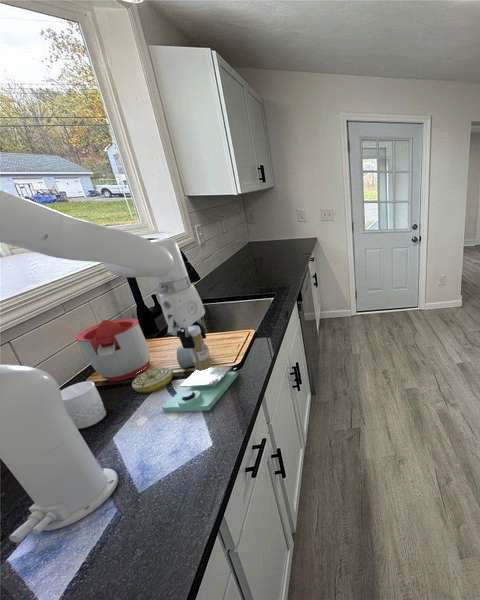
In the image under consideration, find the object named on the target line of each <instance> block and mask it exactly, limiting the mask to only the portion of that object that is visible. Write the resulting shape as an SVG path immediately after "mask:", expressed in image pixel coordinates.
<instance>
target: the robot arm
mask: <svg viewBox="0 0 480 600" xmlns="http://www.w3.org/2000/svg"><path fill="white" fill-rule="evenodd" d="M0 243H1V244H5V245H9V246H13V247H17V248H20V249H24V250H26V251H30V252H34V253H37V254H40V255H44V256H47V257H52V258H56V259H61V260H69V261H75V262H76V261H80V262H90V263H91V262H92V263H101V264H103V265H104V268H105V269H106V270H107V271H108V272H109V273H111V274H112V275H114V276H117V277H122V278H152V279H153V280H154V284H155V286H156V288H157V292H158V293H159V302H160V306H161V310H162V315H163V316H164V319H165V322H166V325H167V334H168V335H171V336H175V337H176V338H179V340H180V343H181V346H183V348H184V349H189V348H194V347H195V344H194V341H193V339H192V336H191V335H189V331H188V327H189V326H194V325H197V326H199V327H200V330H201V335H202V338H203V340H206V339H207V334H206V332H205V329H204V321H203V320H204V316H205V314H206V309H205V307H204V304H203V301H202V299H201V296H200V294H199V292H198V290H197V289H196V287H195V285H194V284H192V282H191V279H190V276H189V274H188V270H187V267H186V264H185V261H184V259H183V256H182V253H181V250H180V248H179V244H178V242H177V241H176V240H175V239H173V238H170V237H169V238H165V237H164V238H156V239H151V240H150V239H147V238H145V237H142V236H140V235H138V234H134V233H131V232H129V231H125V230H121V229H118V228H113V227H109V226H105V225H102V224H99V223H95V222H92V221H88V220H83V219H80V218H76V217H73V216H70V215H68V214H65V213H62V212H60V211H58V210H54V209H52V208H50V207H47V206H44V205H42V204H39V203H37V202H34V201H33V200H31V199H27V198H24V197H22V196H19V195H17V194H15V193H12V192H9V191H7V190H4V189H2V188H0ZM182 330H183V331H184V332H183V331H182ZM0 459H1V461H2V462H3V463H4V464H5V466H6V467H7V468H8V470H9V472H11V474H12V475H13V476H14V478H15V479H16V480H17V482H18V483H19V484H20V486H21V487H22V488H23V490H24V491H25V492H26V493H27V495H28V496H29V497H30V499H31V500H32V501H33V503H32V505H31V506H29V508H28V510H29V512H30V513H31V514H29V515H28V516H27V520H26V521H25V522H23V524H21V525H20V526H19V527H18V528H16V529H15V530H14V531H13V532H12V533H11V534H10V535H9V536H8V539H9V540H10V541H11V542H13V543H21V542H22V541H23V540H24V538H26V537H27V536H28V535H29V534H30V533H33V534H34V535H39V534H41V533H42V531H54V530H58V529H62V528H65V527H68V526H70V525H72V524H74V523H76V522H78V521H80V520H82V519H83V518H85V517H87V516H88V515H90V514H91V513H92V512H94V511H95V510H96V509H98V508H99V507H100V506H101V505H103V504H104V503H105V502H106V501H107V499H108V498H109V497H111V495H112V494H113V492H114V491H115V489H116V487H118V483H119V476H118V474H117V472H116V471H115V469H111V468H107V467H104V468H102V467H101V466H100V464H99V462H98V461H97V459H96V458H95V456H94V454H93V452H92V451H91V449H90V447H89V445H88V444H87V442H86V441H85V439H84V437H83V435H82V434H81V432H80V430H79V429H77V427H76V426H75V424H74V423H73V421H72V419H71V417H70V416H69V414H68V412H67V410H66V408H65V405H64V403H63V399H62V395H61V388H60V386H59V383H58V381H57V380H56V379H55V378H54V377H53V376H52V375H51V374H49V373H48V372H46V371H45V370H41V369H39V368H36V367H32V366H26V365H14V364H0Z"/></svg>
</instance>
